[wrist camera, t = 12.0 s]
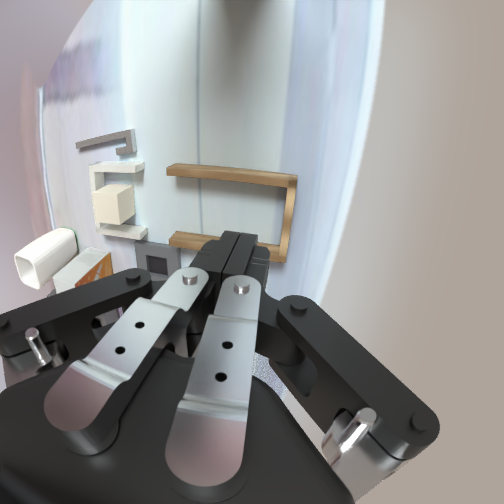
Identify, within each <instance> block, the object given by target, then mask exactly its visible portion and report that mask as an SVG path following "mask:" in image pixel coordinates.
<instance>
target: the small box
mask: <svg viewBox="0 0 504 504" xmlns="http://www.w3.org/2000/svg"><path fill="white" fill-rule="evenodd" d="M110 275H113V272H112V265H111V256H110V252H109V251H105V250H100V249H97V248H92V247H88V248H86V249H85V250H84V251H83V252H81V253H80V254H79V255H78V256H76V257H75V258H74V259H73V260H72V261H70V262H69V263H68V264H67V265H66V266H65V267H63V268H62V269H61V270H60V271H59V272H58V273H56V274H55V275H54V276H53V281H54V285H55V288H56V293H57V294H58V293H61V292H64V291H66V290H69V289H72V288H75V287H78V286H81V285H84V284H86V283H89V282H92V281H95V280H98V279H101V278H104V277H107V276H110Z"/></svg>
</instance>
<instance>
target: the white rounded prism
mask: <svg viewBox="0 0 504 504" xmlns="http://www.w3.org/2000/svg"><path fill="white" fill-rule="evenodd" d="M76 252H77V244H76V238H75V234H74V232H73V231H72V230H70V229H65V228H58V229H55V230H53V231H51V232H49V233H47V234H45V235H43V236H41V237H40V238H38V239H36V240H35V241H33V242H32V243H30V244H29V245H27V246H25V247H24V248H23V249H21V250H20V251H19V252H17V253H16V254H15V255H14V260H15V263H16V267H17V270H18V273H19V276H20V279H21V280H22V282H23V283H24V284H26V285H28V286H30V287H32V288H35V289H38V290H39V289H40V288H42V287H43V286H44V285H45V284H46V283H47V282H48V281H49V280H50V279H51V278H53V276H54V275H55V274H56V273H58V272H59V271H60V270H61V269H62V268H63V267H64V266H65V265H66V264H67V263H68V261H69V260H70V259H71V258H72V257H73V256H74V255H75V253H76Z"/></svg>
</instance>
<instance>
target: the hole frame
mask: <svg viewBox="0 0 504 504" xmlns="http://www.w3.org/2000/svg"><path fill="white" fill-rule="evenodd" d="M134 244H135V252H136V260H137V267H138V268H141V269H144V270H147V271H148V272H149V273H150V274H151V280H152V281H165V280H168V279H169V278H170V277H171V276H172V274H173V273H174V272H176V271H177V270H179V269H181V264H180V247H173V246H169V245H167V244H160V243H154V242H147V241H141V240H137V241H136V242H135V243H134Z"/></svg>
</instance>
